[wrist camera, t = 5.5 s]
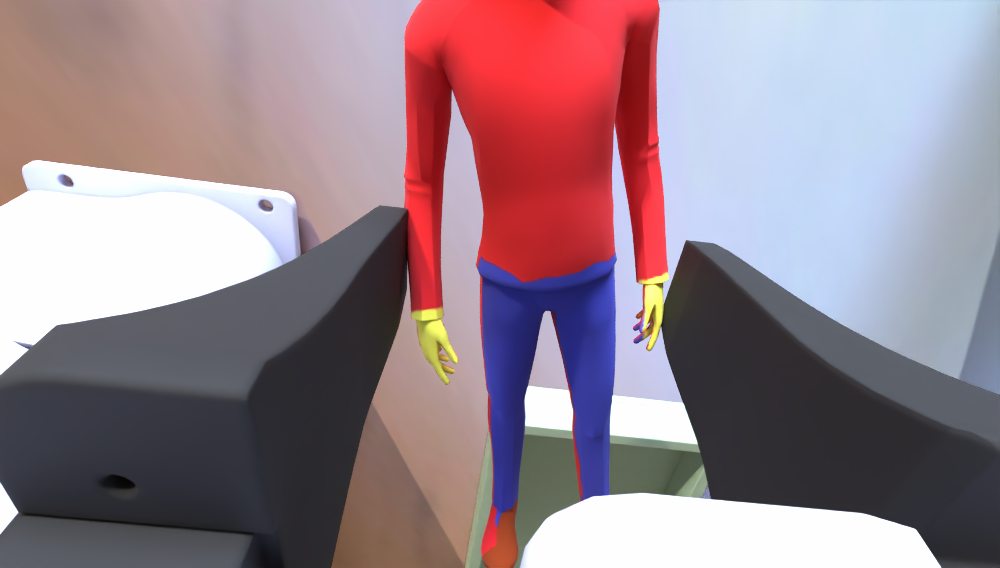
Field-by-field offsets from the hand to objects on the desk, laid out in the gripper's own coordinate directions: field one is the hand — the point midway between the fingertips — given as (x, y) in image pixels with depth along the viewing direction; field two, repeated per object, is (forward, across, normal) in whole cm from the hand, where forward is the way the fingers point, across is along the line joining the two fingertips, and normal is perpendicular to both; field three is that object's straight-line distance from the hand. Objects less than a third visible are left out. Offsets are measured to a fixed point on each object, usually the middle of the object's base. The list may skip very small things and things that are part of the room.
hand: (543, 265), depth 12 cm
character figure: (+2, 0, 0) cm, 2 cm away
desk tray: (+8, -5, +20) cm, 22 cm away
